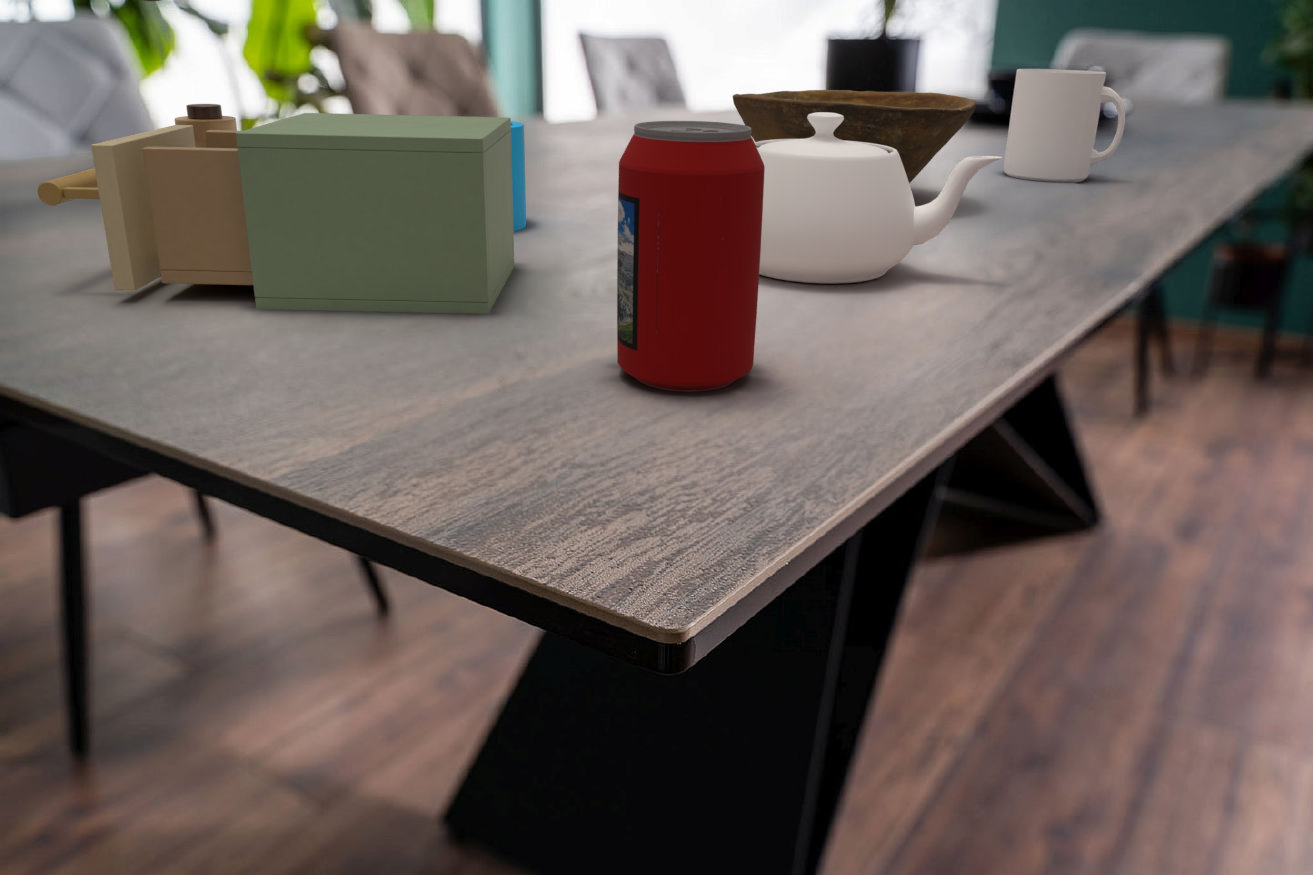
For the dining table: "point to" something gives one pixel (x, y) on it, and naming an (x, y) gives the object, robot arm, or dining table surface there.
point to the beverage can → (688, 254)
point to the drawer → (166, 207)
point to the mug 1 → (518, 175)
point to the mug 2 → (1058, 124)
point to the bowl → (862, 119)
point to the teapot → (845, 206)
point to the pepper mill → (206, 121)
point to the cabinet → (378, 212)
